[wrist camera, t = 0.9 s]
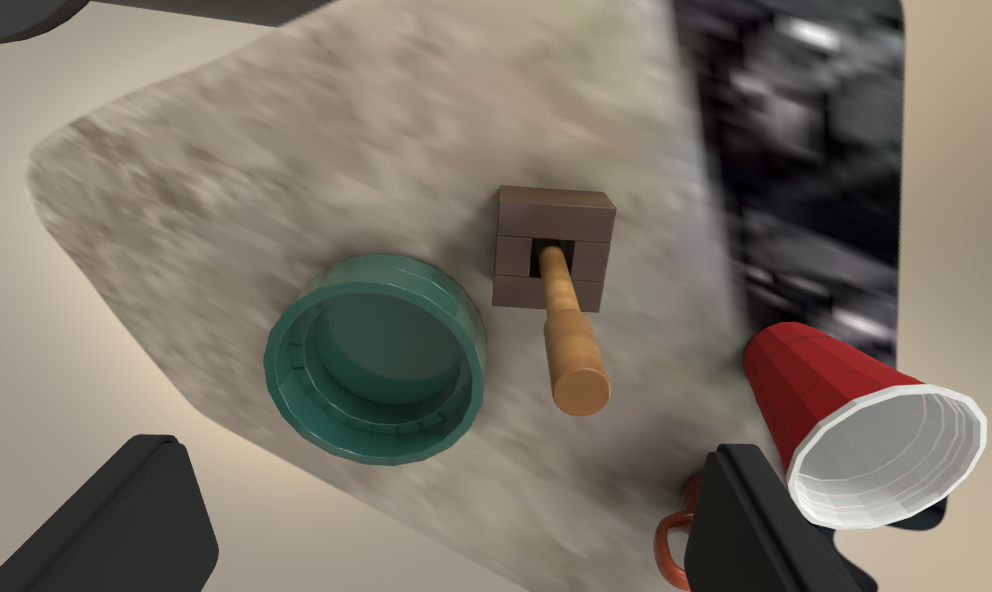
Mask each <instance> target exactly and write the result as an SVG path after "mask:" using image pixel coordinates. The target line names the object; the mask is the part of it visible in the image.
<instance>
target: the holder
mask: <svg viewBox="0 0 992 592" xmlns="http://www.w3.org/2000/svg"><path fill="white" fill-rule="evenodd" d="M615 214H616V208H615V206H614V205H613V204H612V202H611V201H610V199H609V198H608V197H607V195H606V194H605V193H602V192H587V191H573V190H558V189H544V188H529V187H515V186H500V193H499V208H498V223H497V237H496V252H495V267H494V281H493V298H492V305H493V306H505V307H520V308H535V309H546V303H545V297H544V290H543V284H542V278H541V272H540V266H539V259H538V256H531V250H532V240H533V238H543V239H558V240H566V241H565V249H564V257H565V261H566V264H567V268H568V271H569V274H570V278H571V281H572V284H573V288H574V291H575V295H576V298H577V301H578V305H579V308H580V311H581V312H595V313H599V309H600V303H601V297H602V291H603V285H604V280H605V274H606V268H607V262H608V256H609V250H610V243H611V238H612V232H613V226H614V220H615Z"/></svg>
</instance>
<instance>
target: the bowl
mask: <svg viewBox="0 0 992 592" xmlns="http://www.w3.org/2000/svg"><path fill="white" fill-rule="evenodd" d="M486 345H487V337H486V334H485V330H484V327H483V324H482V320H481V317H480V314H479V311H478V309H477V308H476V307H475V305H474V304H473V303H472V301H471V300H470V298H469V297H468V296H467V294H466V293H465V291H464V290H463V289H462V287H461V286H460V285H458V284H457V283H456V282H454V281H453V280H452V279H450V278H449V277H448V276H446V275H445V274H444V273H442V272H441V271H440V270H438V269H437V268H435V267H433V266H430V265H427V264H425V263H422V262H419V261H416V260H414V259H411V258H408V257H406V256H404V257H403V256H399V255H384V254H366V255H362V256H358V257H354V258H350V259H346V260H342V261H339V262H337V263H335V264H334V265H332V266H331V267H329V268H328V269H326V270H324V271H323V272H321V273H320V274H318V275H317V276H315V277H314V278H313V279H312V280H311V281H310V283H309V284H308V285H307V286H306V287H305V288H304V289H303V291H302V292H301V293H300V294H299V295H298V296H297V297H296V298H295V300H294V301H293V302H292V303H291V304H290V305H289V306H288V307H287V309H286V310H285V312H284V313H283V314H282V316H281V317H280V318H279V320H278V321H277V323H276V324H275V325H274V327H273V328H272V329H271V332H270V334H269V338H268V342H267V347H266V351H265V355H264V360H263V362H264V368H265V375H266V381H267V388H268V391H269V393H270V395H271V396H272V398H273V400H274V402H275V404H276V406H277V408H278V410H279V412H280V413H281V415H282V417H283V418H284V419H285V420H286V421H287V422H288V423H289V424H290V425H291V426H292V427H293V428H294V429H295V430H296V431H297V432H298V433H299V434H300V435H301V436H302V437H303V438H305V439H306V440H308V441H310V442H311V443H313V444H315V445H316V446H318V447H320V448H321V449H323V450H325V451H326V452H328V453H330V454H333V455H335V456H339V457H342V458H345V459H348V460H352V461H355V462H358V463H363V464H369V465H385V466H396V465H401V464H407V463H412V462H418V461H423V460H426V459H428V458H430V457H432V456H434V455H436V454H438V453H440V452H442V451H444V450H446V449H448V448H450V447H451V446H452V445H453V444H454V443H455V442H456V441H457V440H458V439H459V438H460V437H462V436H463V435H464V434H465V433H466V432H467V431H468V430H469V429H470V427H471V426H472V424H473V422H474V419H475V417H476V415H477V413H478V411H479V409H480V407H481V405H482V402H483V389H484V375H485V360H486Z"/></svg>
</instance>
